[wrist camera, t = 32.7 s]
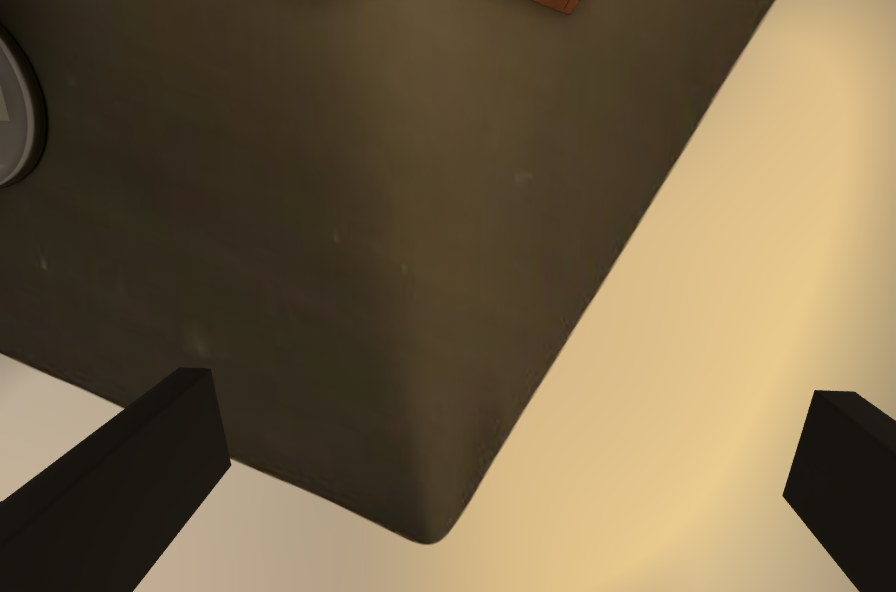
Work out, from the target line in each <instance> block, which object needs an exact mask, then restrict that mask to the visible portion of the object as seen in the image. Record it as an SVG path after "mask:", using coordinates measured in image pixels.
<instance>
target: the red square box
mask: <svg viewBox="0 0 896 592" xmlns="http://www.w3.org/2000/svg"><path fill="white" fill-rule="evenodd" d="M532 1H535V2H537V3H540V4H543V5H545V6H548V7H550V8H553V9H556V10H558V11H561V12H563V13H566V14H568V15H570V14H571V13H572V11H573V10H574V8H575V7H576V5H577V4H578V2H579V1H580V0H532Z"/></svg>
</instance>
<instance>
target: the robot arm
mask: <svg viewBox="0 0 896 592" xmlns="http://www.w3.org/2000/svg"><path fill="white" fill-rule="evenodd" d="M45 136H46V114H45V107H44V102H43V97H42V94H41V90H40V87H39V85H38V82H37V79H36V77H35V75H34V72H33V70H32V68H31V66H30V64H29V62H28V61H27V59H26V57H25V55H24V54H23V52H22V51H21V49H20V48H19V46H18V45H17V44H16V42H15V41H14V39H13V38H12V37H11V36H10V35H9V34H8V32H7V31H6V30H5V29H4V28H3V27H2V26H1V25H0V188H1V187H5V186H9V185H11V184H14V183H16V182H18V181H20V180H21V179H23V178H24V177H25V176H26V175H27V174H28V173H29V172H30V171H31V170H32V169H33V168H34V166H35V165H36V163H37V162H38V160H39V158H40V155H41V153H42V150H43V146H44V142H45ZM230 466H231V462H230V457H229V452H228V448H227V443H226V438H225V434H224V429H223V424H222V420H221V415H220V410H219V406H218V401H217V396H216V392H215V387H214V383H213V378H212V373H211V369H206V368H178V369H177V370H175V371H174V372H173V373H171V374H170V375H169V376H167V377H166V378H165V379H164V380H162V381H161V382H160V383H158V384H157V385H156V386H154V387H153V388H152V389H150V390H149V391H148V392H146V393H145V394H144V395H142V396H141V397H140V398H138V399H137V400H136V401H134V402H133V403H132V404H130V405H129V406H128V407H126V408H125V409H124V410H123V411H121V412H120V413H119V414H117V415H116V416H115V417H113V418H112V419H111V420H109V421H108V422H107V423H105V424H104V425H103V426H101V427H100V428H99V429H97V430H96V431H95V432H93V433H92V434H91V435H89V436H88V437H87V438H86V439H84V440H83V441H81V442H80V443H79V444H78V445H76V446H75V447H74V448H72V449H71V450H70V451H68V452H67V453H66V454H64V455H63V456H62V457H60V458H59V459H58V460H56V461H55V462H54V463H52V464H51V465H50V466H48V468H46V469H44V470H43V471H42V472H40V473H39V474H38V475H37V476H35V477H34V478H33V479H31V480H30V481H29V482H27V483H26V484H25V485H23V486H22V487H21V488H19V489H18V490H17V491H15V492H14V493H13V494H11V495H10V496H9V497H7V498H6V499H5V500H3V501H1V502H0V592H133V591H134V589H135V588H136V587H137V586H138V584H139V583H140V582H141V580H142V579H143V578H144V577H145V575H146V574H147V573H148V571H149V570H150V569H151V567H152V566H153V565H154V564H155V563H156V561H157V560H158V559H159V557H160V556H161V555H162V554H163V552H164V551H165V550H166V548H167V547H168V546H169V544H170V543H171V542H172V541H173V539H174V538H175V537H176V536H177V534H178V533H179V532H180V530H181V529H182V528H183V527H184V525H185V524H186V523H187V521H188V520H189V519H190V518H191V516H192V515H193V514H194V512H195V511H196V510H197V509H198V507H199V506H200V505H201V503H202V502H203V501H204V500H205V498H206V497H207V496H208V494H209V493H210V492H211V491H212V489H213V488H214V487H215V486H216V484H217V483H218V482H219V480H220V479H221V478H222V477H223V475H224V474H225V473H226V471H227V470H228V469H229V468H230ZM783 497H784V498H785V500H786V501H787V502H788V503H789V505H790V506H791V507H792V508H793V509H794V511H795V512H796V513H797V515H798V516H799V517H800V518H801V520H802V521H803V522H804V523H805V524H806V526H807V527H808V528H809V529H810V531H811V532H812V533H813V534H814V536H815V537H816V538H817V539H818V541H819V542H820V543H821V544H822V546H823V547H824V548H825V549H826V551H827V552H828V553H829V554H830V556H831V557H832V558H833V559H834V561H835V562H836V563H837V564H838V566H839V567H840V568H841V569H842V571H843V572H844V573H845V574H846V576H847V577H848V578H849V579H850V581H851V582H852V583H853V584H854V586H855V587H856V588H857V589H858V591H859V592H896V421H895V420H894V419H892V418H891V417H889V416H888V415H887V414H885V413H883V412H882V411H881V410H880V409H878V408H877V407H875V406H874V405H873V404H871V403H870V402H868V401H867V400H866V399H864V398H862V397H861V396H860V395H859V394H857V393H856V392H850V391H822V390H815V391H814V394H813V397H812V401H811V404H810V407H809V410H808V414H807V417H806V420H805V423H804V427H803V430H802V433H801V437H800V440H799V443H798V446H797V450H796V453H795V456H794V460H793V463H792V466H791V470H790V473H789V477H788V479H787V482H786V486H785V489H784V492H783Z"/></svg>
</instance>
